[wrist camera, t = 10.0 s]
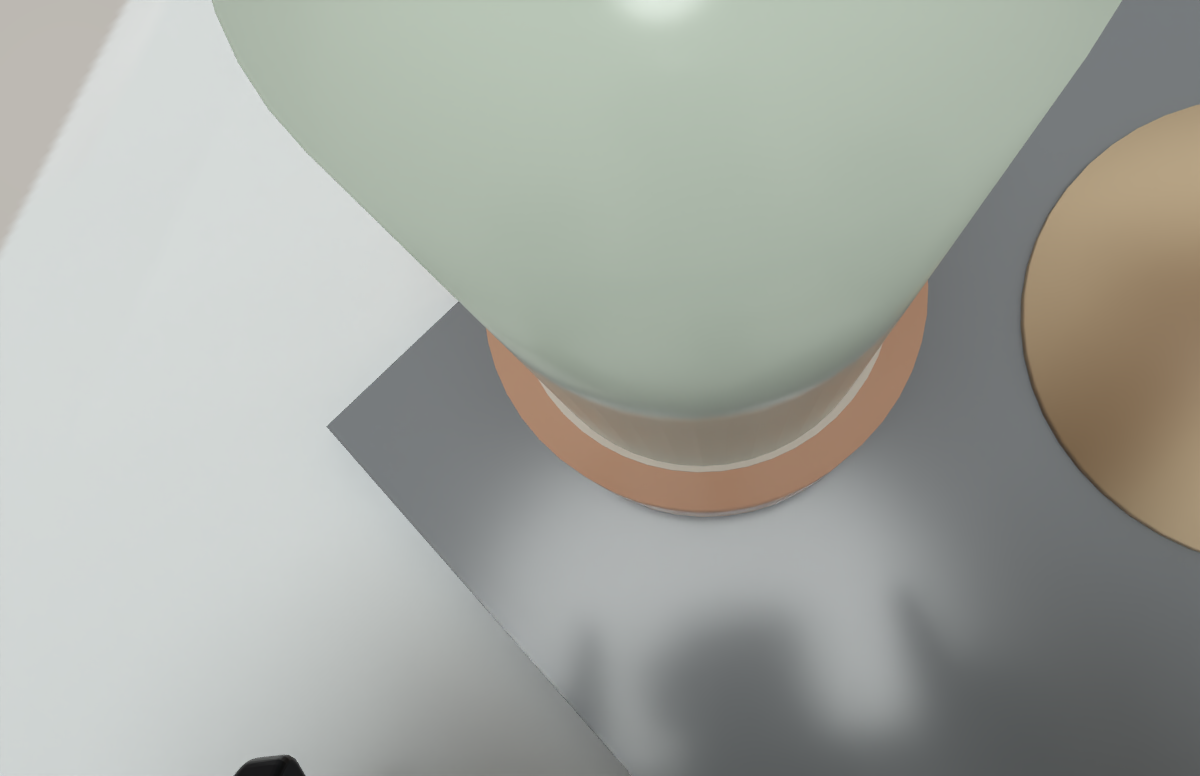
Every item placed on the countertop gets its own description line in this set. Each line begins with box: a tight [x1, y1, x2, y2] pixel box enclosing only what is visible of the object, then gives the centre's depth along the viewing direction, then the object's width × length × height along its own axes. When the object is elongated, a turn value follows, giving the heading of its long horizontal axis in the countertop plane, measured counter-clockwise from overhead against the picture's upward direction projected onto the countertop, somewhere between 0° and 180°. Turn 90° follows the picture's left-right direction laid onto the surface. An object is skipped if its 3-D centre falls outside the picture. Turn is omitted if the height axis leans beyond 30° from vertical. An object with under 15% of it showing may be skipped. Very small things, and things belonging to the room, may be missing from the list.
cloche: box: [212, 0, 1122, 466], centre depth 11 cm, size 6×6×12 cm
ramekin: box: [486, 280, 928, 517], centre depth 18 cm, size 8×8×3 cm
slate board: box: [327, 0, 1200, 776], centre depth 19 cm, size 24×19×1 cm
